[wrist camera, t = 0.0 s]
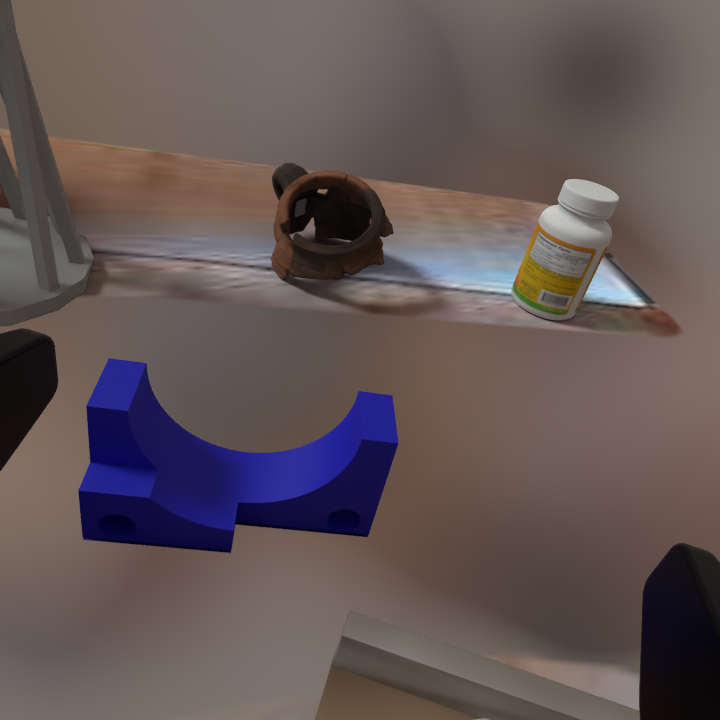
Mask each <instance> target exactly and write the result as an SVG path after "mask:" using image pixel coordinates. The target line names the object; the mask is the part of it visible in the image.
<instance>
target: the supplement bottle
mask: <svg viewBox="0 0 720 720" xmlns="http://www.w3.org/2000/svg"><path fill="white" fill-rule="evenodd" d="M618 201H619V197H618V195H617V194H616V193H614V192H613V191H612V190H610V189H608V188H606V187H604V186H602V185H599V184H596V183H593V182H590V181H586V180H579V179H569V180H567V181H565V183H564V185H563V187H562V190H561V192H560V195H559V197H558V202H559V205H555V206H551V207H548V208H547V209H545V210H544V211H543V212H542V214H541V216H540V218H539V221H538V223H537V226H536V228H535V231H534V233H533V236H532V238H531V241H530V243H529V246H528V248H527V251H526V254H525V256H524V259H523V261H522V264H521V266H520V269H519V271H518V274H517V276H516V279H515V281H514V284H513V287H512V291H511V293H512V297H513V299H514V301H515V302H516V303H517V304H518V305H519V306H520V307H522V308H523V309H525V310H526V311H528V312H530V313H532V314H534V315H536V316H539V317H542V318H545V319H549V320H557V321H561V320H567V319H570V318H571V317H573V316H574V315H575V314H576V312H577V310H578V308H579V306H580V304H581V302H582V300H583V297H584V295H585V293H586V291H587V289H588V287H589V285H590V283H591V281H592V278H593V276H594V274H595V272H596V270H597V268H598V266H599V264H600V262H601V260H602V258H603V255H604V253H605V251H606V249H607V247H608V245H609V242H610V240H611V237H612V231H611V228H610V226H609V225H608V223H607V222H606V219H608V218H610V217H611V215H612V214H613V213H614V210H615V207H616V205H617V203H618Z"/></svg>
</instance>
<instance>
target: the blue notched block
mask: <svg viewBox="0 0 720 720" xmlns="http://www.w3.org/2000/svg"><path fill="white" fill-rule="evenodd" d="M87 421H88V435H89V449H90V464H89V467H88V469H87V472H86V474H85V476H84V479H83V481H82V484H81V486H80V488H79V502H80V513H81V524H82V535H83V540H90V541H101V542H113V543H124V544H135V545H146V546H158V547H169V548H181V549H191V550H202V551H213V552H225V553H231V549H232V543H233V536H234V529H235V525H245V526H257V527H266V528H277V529H287V530H297V531H308V532H318V533H328V534H339V535H349V536H360V537H368V535H369V532H370V528H371V525H372V522H373V519H374V516H375V513H376V510H377V507H378V504H379V500H380V498H381V495H382V492H383V489H384V486H385V483H386V479H387V477H388V473H389V470H390V467H391V464H392V461H393V458H394V455H395V452H396V449H397V446H398V437H397V429H396V422H395V414H394V405H393V398H392V396H391V395H384V394H375V393H368V392H361V391H359V392H358V396H357V399H356V401H355V403H354V405H353V407H352V409H351V410H350V412H349V413H348V415H347V416H346V417H345V418H344V420H343V421H342V422H341V423H340V424H339V425H338V426H337V427H336V428H335V429H333V430H332V431H331V432H329V433H328V434H327V435H325V436H323V437H322V438H320V439H319V440H316V441H314V442H312V443H310V444H307V445H305V446H302V447H299V448H295V449H292V450H288V451H282V452H274V453H249V452H239V451H234V450H230V449H226V448H222V447H219V446H216V445H213V444H211V443H208V442H206V441H204V440H202V439H200V438H198V437H196V436H194V435H192V434H190V433H189V432H187V431H186V430H185V429H183V428H182V427H181V426H180V425H178V424H177V423H176V422H175V421H174V420H173V419H172V418H170V416H168V415H167V413H166V412H165V411H164V409H163V408H162V407H161V405H160V404H159V402H158V401H157V399H156V397H155V395H154V393H153V391H152V389H151V386H150V383H149V379H148V374H147V364H146V363H141V362H133V361H125V360H117V359H110V358H109V359H108V362H107V364H106V366H105V368H104V370H103V372H102V374H101V376H100V378H99V381H98V383H97V385H96V387H95V389H94V391H93V393H92V396H91V398H90V400H89V402H88V404H87Z"/></svg>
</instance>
